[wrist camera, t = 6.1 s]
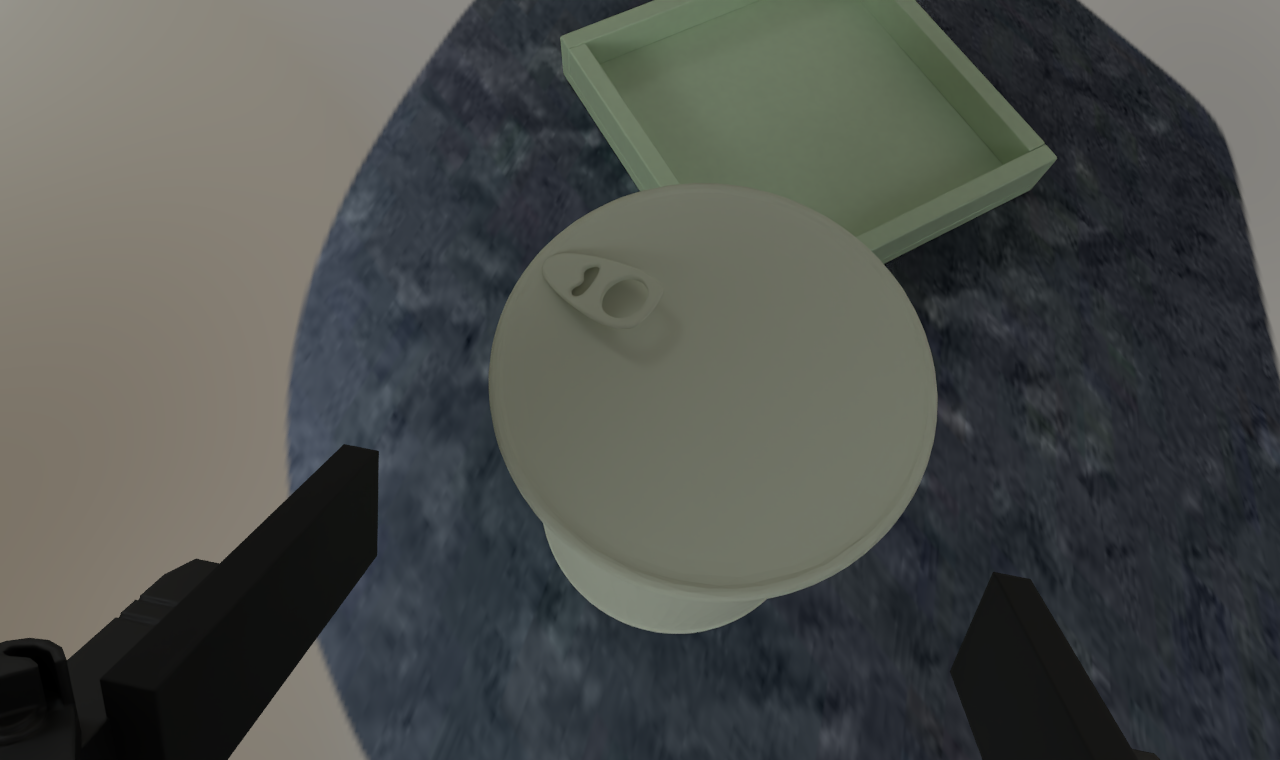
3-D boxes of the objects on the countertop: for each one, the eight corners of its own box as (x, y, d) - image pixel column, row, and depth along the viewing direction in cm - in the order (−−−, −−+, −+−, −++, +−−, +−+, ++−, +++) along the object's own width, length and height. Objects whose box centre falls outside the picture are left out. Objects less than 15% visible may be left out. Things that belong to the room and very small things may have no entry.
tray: (1031, 190, 31) (1059, 157, 29) (735, 339, 28) (744, 313, 26) (834, -34, 35) (847, -75, 33) (563, 74, 32) (559, 36, 30)
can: (639, 327, 28) (652, 98, 17) (852, 461, 26) (1027, 306, 15) (487, 528, 25) (379, 414, 14) (716, 693, 23) (807, 717, 12)
